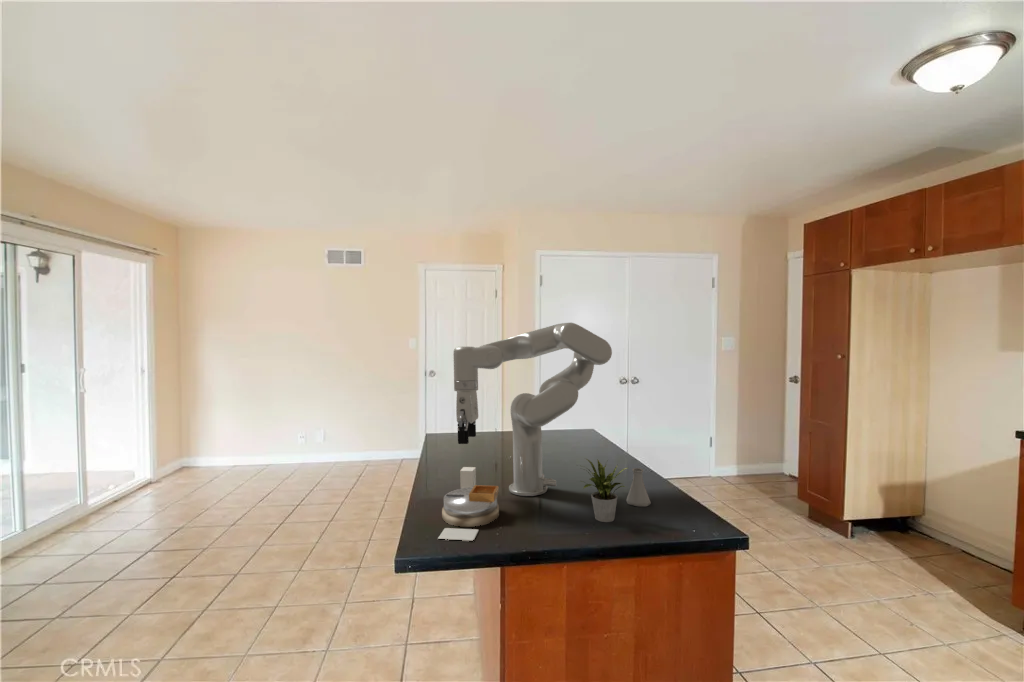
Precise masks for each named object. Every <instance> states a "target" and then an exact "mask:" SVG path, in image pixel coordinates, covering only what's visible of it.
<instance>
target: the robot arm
mask: <svg viewBox="0 0 1024 682" xmlns="http://www.w3.org/2000/svg"><path fill="white" fill-rule="evenodd" d="M565 349H567V350H570V351H572V352H573V357H572V361H571V364H570V365H568V366H567V367H566V368H564V369H563V370H562V371H560V372H558V373H556V374H555V375H554V376H552V377H550V378H548V379H546V380H544V382H542V384H541V385H540V387H539V392H538V394H531V393H529V392H527V393H526V392H525V393H520V394H518V395H516V396H515V397H514V398H513V400H512V401H511V404H510V418H511V420H510V421H511V427H512V428H511V429H512V458H513V459H512V460H513V463H512V465H513V466H512V467H513V470H512V471H513V472H512V473H513V482H512V483H511V484H510V485H509V486H508V491H509V492H510V493H511V494H513V495H516V496H521V497H534V496H539V495H543V494H545V493H546V492H547V491H548V486H549V487H557V480H556V479H553V478H552V477H551V478H546V477H545V473H543V436H542V435H543V433H542V432H543V431H542V427H543V426H546V425H548V424H549V423H551V422H552V421H553V420H555V419H557V418H559V417H560V416H562V415H564V414H565V413H566V412H568V411H569V410H570V409H572V408H573V407H574V406H575V404H577V401H578V398H579V391H580V390H581V389H583V388H584V387H585V386H587V385H588V383H589V382H590V381H591V379H592V376H593V373H594V367H595V366H602V365H604V364H607V363H608V362H609V361H610V359H612V354H613V350H612V347H611V345H610V343H609V342H608V341H607V340H606V339H604V338H602V337H600V336H599V335H597V334H596V333H593V332H592V331H590V330H588V329H586V328H584V327H583V326H581V325H579V324H577V323H574V322H562V323H557V324H554V325H549V326H545V327H542V328H539V329H535V330H531V331H529V332H524V333H521V334H518V335H514V336H511V337H509V338H505V339H502V340H497V341H494V342H490V343H487V344H483V345H480V346H479V347H474V346H456V347H455V348H454V350H453V355H452V356H453V391H454V392H456V402H455V403H456V409H455V410H456V411H455V412H456V413H455V414H456V422H457V444H459V445H468V444H469V439H470V438H474V437H475V438H476V437H477V427H476V426H477V424H476V421H477V420H478V419H479V405H478V403H479V402H478V392H477V391H478V390H479V372H478V371H479V369H483V370H495V369H497V368H499V367H500V366H501V365H502V364H503V363H506V362H511V361H514V360H528V359H532V358H537V357H540V356H543V355H546V354H549V353H553V352H556V351H559V350H565Z"/></svg>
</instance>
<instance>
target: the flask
mask: <svg viewBox="0 0 1024 682" xmlns="http://www.w3.org/2000/svg"><path fill="white" fill-rule="evenodd" d="M632 472H633V474H632V482H631V484H630V489H629V490H628V493H627V496H626V500H625V501H626V504H628V505H631V506H635V507H648V506H650V505H651V504H652V503H651V499H650V496H649V494H648V491H647V489H646V485H645V482H644V478H643V473H644V469H643V468H641V467H640V468H639V467H635V468H632Z"/></svg>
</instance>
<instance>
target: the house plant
mask: <svg viewBox="0 0 1024 682" xmlns="http://www.w3.org/2000/svg"><path fill="white" fill-rule="evenodd" d="M585 460H586V461H588V462H589V463H590V465H591V468H592V471H593V472H592V471H591V469H589V468H587V467H586V466H583V465H581V467H583V470H584V471H586V472H588V474H589V475H590V478H589V480H590V481H591V482H593V484H592V483H586V482H585V485H584V486H583V488H582V490H584V489H586V488H588V487H591V486H593V487H595V488H596V489H597V491H594V492H592V493H591V494H590V496H591V502H592V508H593V513H594V518H595V520H596V521H598V522H603V523H611V522H613V521H614V520H615V516H616V509H617V508H616V507H617V503H618V494H616V493H615V491H616V490H618V489H620V488H622V487H624V488H626V486H625V485H623V483H621V482H614V480H615V479H616V478H617V477H618V476H619V475H620V474H621V473H622V472H623V471H624V470H627V469H628V467H625V468H623V469H621V470H620V471H619V472H618V473H617V474H615V472H616V470H617V468H618V466H619V465H618V464H617V465H616V466H615V467H614V468H613V470H612V472H611V473H609V474H607V475H606V472H605V470H606V467H607V463H605V464H604V465H603V464H602V463H601V462H600V460H599V458H597V470H596V467H595V465H594V463H593V462H592V461H591V460H590V459H588V458H585ZM608 460H609V459H608ZM608 460H606V462H608ZM575 466H577V464H576V465H575ZM584 468H585V469H584ZM586 469H587V470H586ZM597 471H598V472H597ZM590 473H591V474H592V475H591V474H590ZM614 475H615V476H614ZM581 482H583V483H584V481H582V480H581ZM618 485H620V486H618ZM616 486H618V487H616ZM615 487H616V488H615ZM614 488H615V489H614ZM613 489H614V490H613ZM612 490H613V491H612Z"/></svg>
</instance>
